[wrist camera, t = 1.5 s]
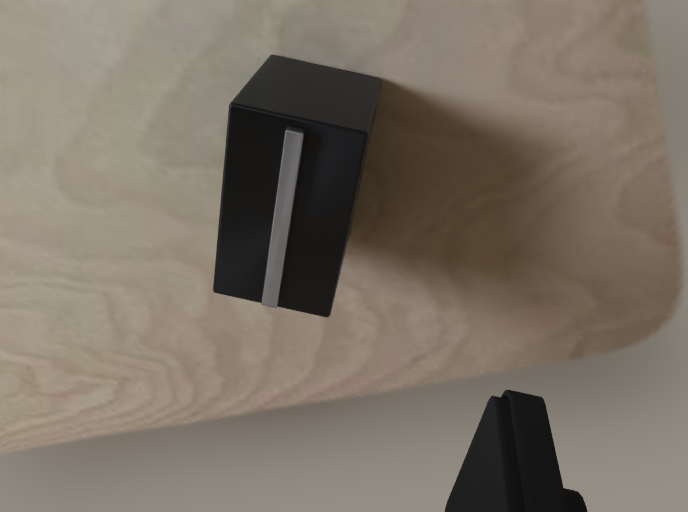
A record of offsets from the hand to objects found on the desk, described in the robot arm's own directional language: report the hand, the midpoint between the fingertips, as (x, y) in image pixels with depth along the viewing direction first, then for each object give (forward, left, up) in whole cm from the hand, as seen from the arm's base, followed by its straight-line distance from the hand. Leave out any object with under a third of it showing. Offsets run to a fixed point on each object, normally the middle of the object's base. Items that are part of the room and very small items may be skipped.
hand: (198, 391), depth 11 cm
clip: (0, 0, -9) cm, 9 cm away
